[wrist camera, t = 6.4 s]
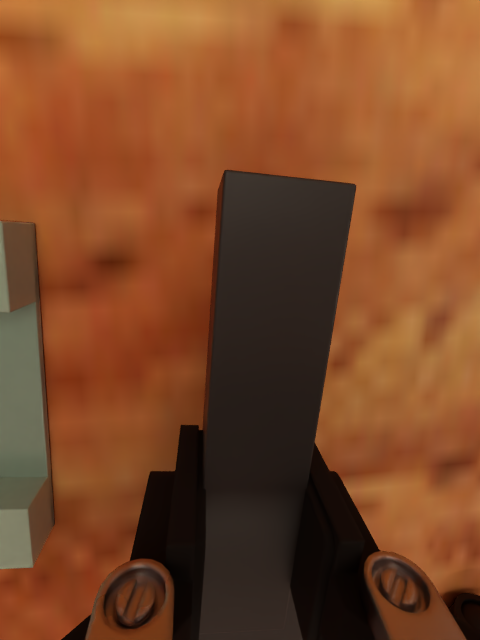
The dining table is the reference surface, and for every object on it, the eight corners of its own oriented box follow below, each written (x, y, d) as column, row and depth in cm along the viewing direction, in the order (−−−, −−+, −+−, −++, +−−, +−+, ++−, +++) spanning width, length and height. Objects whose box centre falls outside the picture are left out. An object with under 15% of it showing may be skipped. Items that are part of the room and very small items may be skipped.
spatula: (152, 181, 8) (126, 158, 5) (368, 204, 9) (440, 192, 6) (144, 683, 13) (128, 805, 10) (286, 672, 13) (307, 784, 11)
